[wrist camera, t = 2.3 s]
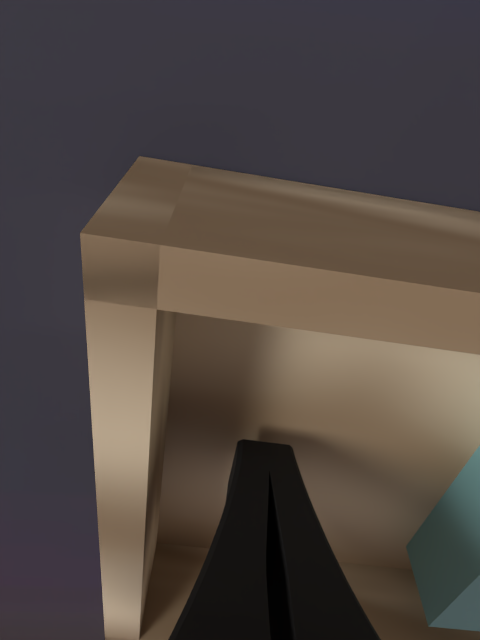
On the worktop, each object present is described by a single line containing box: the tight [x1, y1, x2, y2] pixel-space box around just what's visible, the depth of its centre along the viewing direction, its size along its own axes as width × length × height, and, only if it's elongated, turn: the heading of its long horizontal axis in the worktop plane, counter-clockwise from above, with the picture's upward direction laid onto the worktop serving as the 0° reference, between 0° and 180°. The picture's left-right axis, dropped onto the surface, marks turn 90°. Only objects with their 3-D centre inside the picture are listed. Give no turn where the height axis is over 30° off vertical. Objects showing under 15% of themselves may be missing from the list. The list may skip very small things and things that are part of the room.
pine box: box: [80, 156, 480, 640], centre depth 11 cm, size 14×14×4 cm
